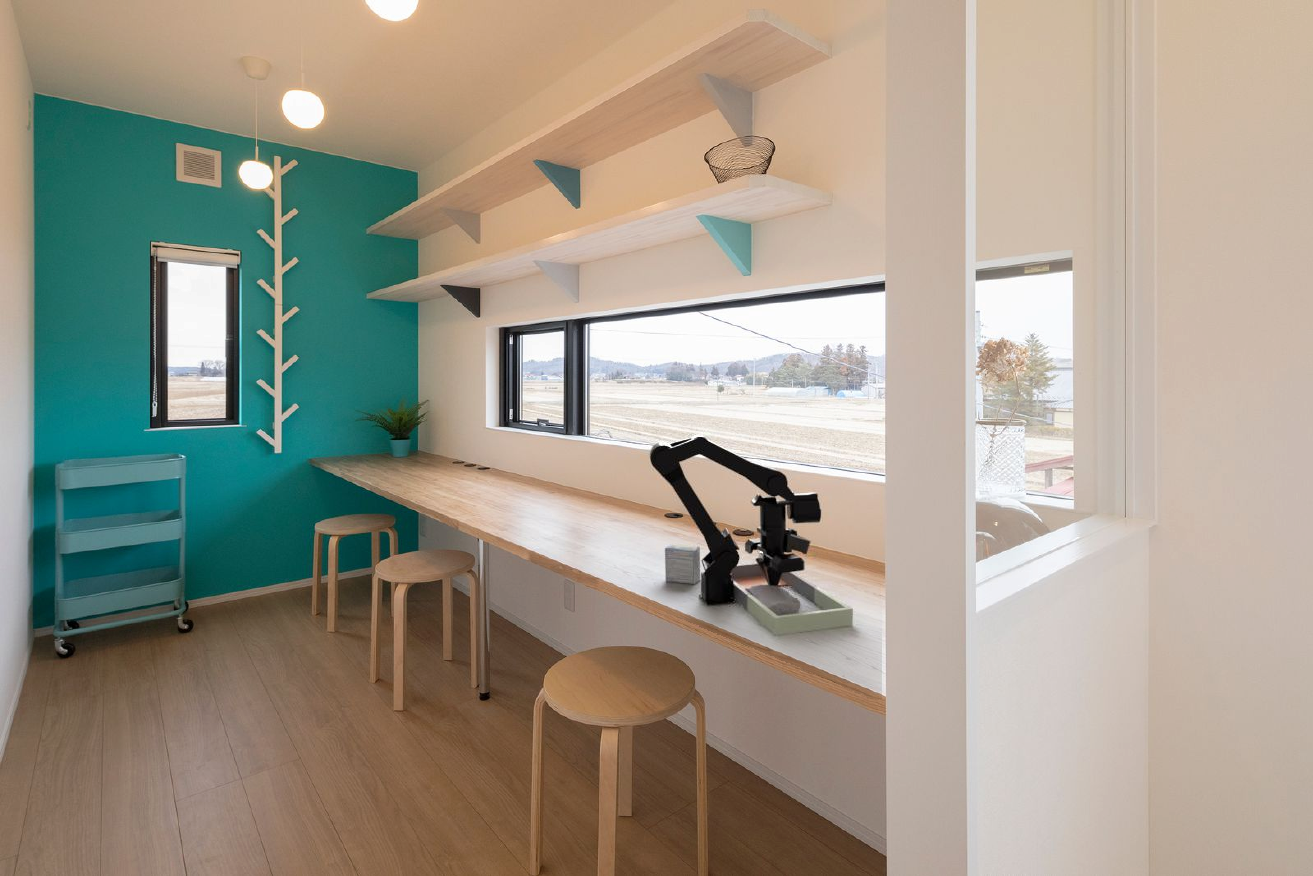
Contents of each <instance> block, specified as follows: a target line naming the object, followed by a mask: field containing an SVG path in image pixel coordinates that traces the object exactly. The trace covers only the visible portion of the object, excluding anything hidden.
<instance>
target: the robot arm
mask: <svg viewBox="0 0 1313 876" xmlns="http://www.w3.org/2000/svg"><path fill="white" fill-rule="evenodd" d="M698 455H699V456H703V457H704V458H707V459H708V460H710V461H712V462H715V463H717V464H718V465H720V466H722V467H725V468H726V469H728V470H731V471H732V472H734V473H735V474H738V475H740V476H742V477H743V478H746V479H747V480H748V481H749V482H751V484H752V485H755V486H756V487H757V488H759V489H760V490H761V491H762V492H764V494H766V495H768V496H762V494H760V493H757V494H756V496H755V497H753V498H752V499H751V500H750V503H751V504H752V505H753V506H754V507H759V523H760V524H759V525H760V526H757V527H756V532H757V533H759V537H758V538H749V539H747V540H746V542H745V543H744V551H745V552H746V553H747V554H749V555H750V554H753V552H754V551H756V552H757V553H758V557H757V558H755V562H756V563H758V565H759V567H760V569H761V571H762V573H763V575H764V577H765V579H766V581H767V583H768V585H770V586H778V584H779V581H780V578H781V575H782V573H787V572H795V573H796V572H800V571H804V570H805V569H806V568H805V560H804V559H803V558H802V557H800V556H799V555H797V554H795V553H793V551H797V552H799V553H802V554H804V555H807V554H808V550H809V548H810V546H811V545H810V544H811V540H809V539H807V538H806V537H802V536H801V535H798V531H797V530H795V529H794V528H789V527H788V528H787V523H786V522H787V519H788V520H791V521H792V523H793V524H813V523H814V524H815V523H816V524H817V523H820V521H821V518H822V509H821V506H820V501H819V495H818V493H817V492H815V491H809V492H807V493H805V492H803V493H794V491H793V490H791V488H790V487H789V486H788V482H789V481H788V478H787V476H786V474H784V473H783V472H782V471H780V470H779V469H777V468H775V467H772V466H769V465H766V464H762V463H759V462H755V461H752V460H748V459H747V458H745V457H743V456H741V455H739V454H736V453H735V452H733V451H732V450H729V449H727V448H725V447H723V446H721V445H719V444H717V443H716V442H713V441H711V440H709V439H707V438H706V437H705V436H703V435H701V434H696V435H694V436H692V437H688V438H685V439H681V440H677V441H674V442H670V443H667V442H664V441H662V442H657V443H655V444H654V445H652V447H651V448H650V450H649V459H650V464H651V465H652V467H653V468H654V470H656V471H657V473H659V475H660V476H661V477H662V478H663V479H664V480H665V481H666V482H667V483H668V484H669V485H670V486H671V487H672V489H673V491H674V492H675V494H676V495H677V496H678V498H679V500H680V501H681V503H682V504H683V507H685V509H686V511H687V512H688V514H689V516H690V517H691V519H692V520H693V522H694V524H695V525H696V527H697V528H698V529H699V532H700V533H701V534H702V535H703V538H704V540H705V543H706V545H707V547H708V550H709V552H708V553H706V555H705V556H703V558H702V559H701V564H702V566H703V569H704V572H700V585H701V586H700V588H701V589H700V594H698V597H699V599H701V601H702V602H703V603H705V605H706V606H715V605H716V606H718V605H727V604H734V603H735V600H734V599H733V597H734V580H733V579H731V571H732V569H734V568H735V567H736V566H737V565H738V564H739V562H740V554H739V552H738V551H739V550H740V547H739V546H738V543H737V542H736V541H735V540H734V539H733V538H732V536H731V535H732V534H731V533H730V531H729V530H728V528H727V527H725V528H724V529H723V530H721V529H720V528H719V526H717V525H716V524H715V522H714V521H713V518H712V517H711V516H710V514H709V512H708V511H707V509H706V507H705V506H704V504H703V503H702V501H701V499H700V497H699V496H698V494H696V492H695V490H694V489H693V486H692V485H691V483H690V482H689V480H688V479H687V477H686V476H685V473H684V471H683V468H682V465H681V464H680V462H681V463H682V462H683V461H686V460H688V459H689V460H690V458H693V457H696V456H698ZM777 496H779V497H780V498H782V499H777V498H776V497H777ZM778 587H779V586H778Z"/></svg>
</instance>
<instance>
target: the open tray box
mask: <svg viewBox="0 0 1313 876" xmlns="http://www.w3.org/2000/svg"><path fill="white" fill-rule="evenodd" d="M731 579H733V580H734V597H733V599H734V602H737V603H738V604H739V605H740V606H741V607H742V608H743V609H745V611H747V612H748V613H749V614H750V615H751V616H752V617H754V619H756V620H757V621H758V622H759V623H760V624H762V625H763V626H764V627H765V628H766V629H767V630H768V631H770V633H772V634H773V635H774V636H781V635H783V636H784V635H788V634H789V635H791V634H796V633H806V632H812V631H813V632H814V631H820V630H829V629H836V628H842V627H851V626H854V625H853V623H854V622H853V621H854V620H853V618H854V613H853V612H854V609H853V607H850V606H849V605H848V604H846V603H844V602H843V601H841V600H839V599H838V598H836V597H835V596H833V595H831V594H830V593H828V592H827V591H825V590H824V589H822V588H821V587H819V586H817V585H816V584H813V583H812V582H811V581H809V580H808V579H806V578H805V577H802V576H801V575H800V574H798V573H797V572H796V571H795V572H787V573H782V575H781V578H780V581H779V584H778V587H785V586H788V587H790V588H792V590H794V591H796V592H798V593H799V594H800V595H801V596H803V597H804V598H806V599H807V600H809V601H811V603H813V604H815V605H816V606H818V607H819V608H821V610H815V611H807V612H798V613H797V614H789V615H781V616H777V615H776V614H775V613H774V612H772V611H771V610H770V609H769V608H767V607H766V606H765V605H764V604H762V603H761V602H760V601H759V600H757V599H756V598H755V597H754V596H752V595H751V594H750V593H749V592H747V589H748V588H750V587H752V586H756V585H768V583H767V581H766V579H765V577H764V575H763V573H762V571H761V569H760V567H759V565H758V563H757V562H748V563H741V564H739V563H738V564H737V566H736V567H735V568H734V569H732V571H731Z"/></svg>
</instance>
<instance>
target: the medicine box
mask: <svg viewBox="0 0 1313 876" xmlns="http://www.w3.org/2000/svg"><path fill="white" fill-rule="evenodd" d="M700 550H701V546H699V545H690V544H689V545H688V544H679V543H678V544H677V543H670V544H669V545H667V546H666V547H665V548H664V560H665V561H664V565H665V566H664V567H665V568H664V569H665V574H664V575H665V582H668V583H669V582H670V583H680V584H691V585H696V584H697V583H698V582H699V581H701V551H700Z"/></svg>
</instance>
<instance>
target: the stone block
mask: <svg viewBox="0 0 1313 876" xmlns="http://www.w3.org/2000/svg"><path fill="white" fill-rule="evenodd" d="M746 591H747V592H749V593H750V594H751V595H752V596H754V597H755V598H756V599H757V600H759V601H760V602H761V603H762V604H764V605H765V606H766V607H767V608H769V609H770V610H771V611H772V612H774V613H775V614H776V615H777V616H781V615H789V614H797V613H799V611H800V608H801V600H799V599H798V597H795V596H793V595H792V594H790V592H789V591H787V590H786V589H784V588H783V587H782V586H770V585H756V586H752V587H750V588H748V589H747V590H746Z"/></svg>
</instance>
